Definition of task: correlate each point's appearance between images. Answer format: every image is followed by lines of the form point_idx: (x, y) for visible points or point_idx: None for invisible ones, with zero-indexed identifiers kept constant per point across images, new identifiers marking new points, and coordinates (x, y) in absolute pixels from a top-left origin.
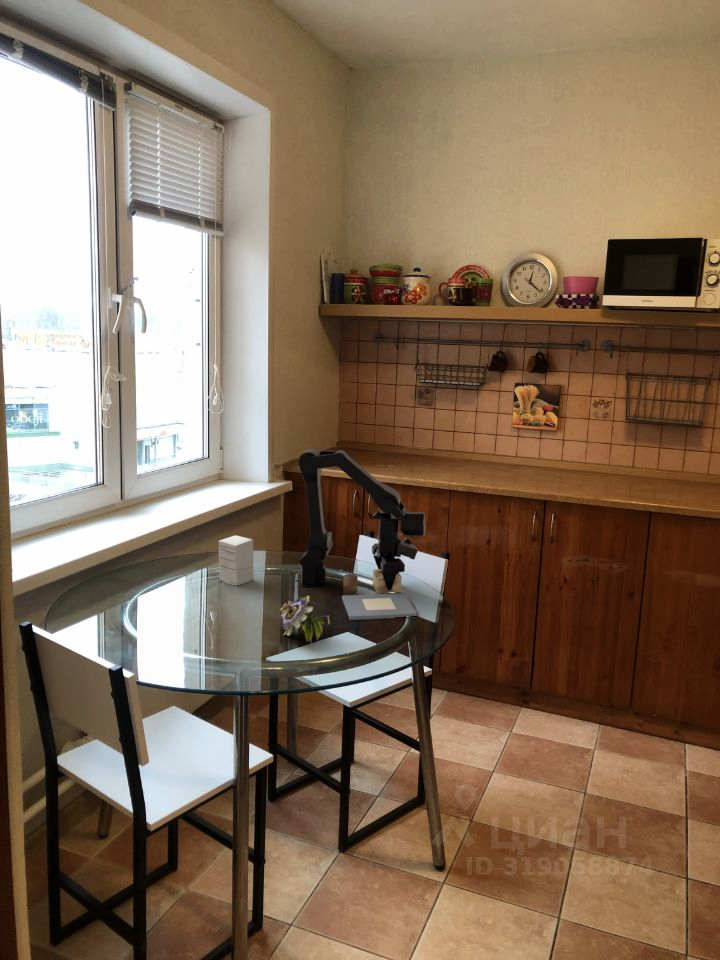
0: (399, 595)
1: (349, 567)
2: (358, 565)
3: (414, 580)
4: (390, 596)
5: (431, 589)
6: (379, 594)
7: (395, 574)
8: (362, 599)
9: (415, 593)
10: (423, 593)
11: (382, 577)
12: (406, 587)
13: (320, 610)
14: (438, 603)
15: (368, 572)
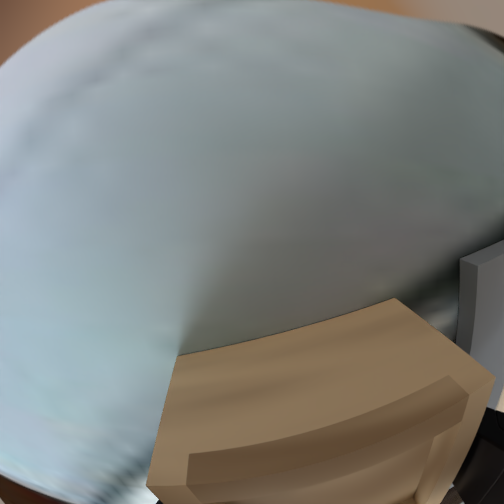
0: (500, 302)
1: (42, 499)
2: (4, 470)
3: (36, 186)
4: (497, 353)
5: (265, 10)
6: None
7: None
8: None
9: (398, 164)
10: (386, 90)
11: (443, 495)
12: (244, 256)
13: None
14: (501, 50)
15: (44, 466)
